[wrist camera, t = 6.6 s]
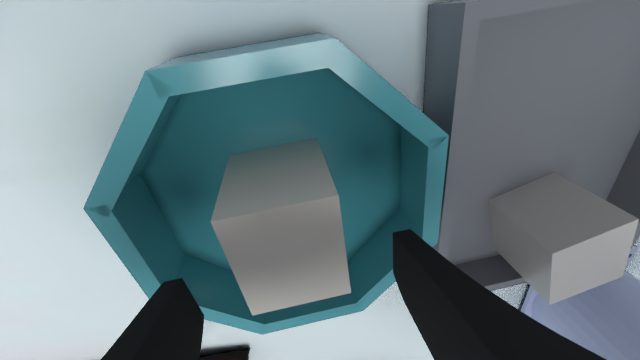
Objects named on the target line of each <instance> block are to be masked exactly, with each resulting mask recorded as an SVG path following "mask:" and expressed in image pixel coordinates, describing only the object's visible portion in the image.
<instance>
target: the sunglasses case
mask: <svg viewBox="0 0 640 360" xmlns="http://www.w3.org/2000/svg"><path fill="white" fill-rule="evenodd" d="M249 350H250V349H246V351H245V352H244V351H242V350H238V351H230V352H227V353H222V354H215V355H210V356H206V357H202V358H199V359H198V360H248V358H249V357H248V354H249Z"/></svg>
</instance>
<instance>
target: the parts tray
mask: <svg viewBox="0 0 640 360" xmlns="http://www.w3.org/2000/svg"><path fill="white" fill-rule="evenodd" d="M423 113H424V114H425V115H426V116H427V117H428V118H429V119H431V120H432V121H433V122H434V123H435V124H436V125H438V126H439V127H440V128H441V129H442V130H443V131H444V132H446V133H447V134H448V135H449V139H448V149H447V159H446V168H445V178H444V187H443V197H442V207H441V216H440V226H439V235H438V242H437V244H436V245H435V246H433V248H434V249H435V250H436V251H437V252H439V253H440V254H441V255H442V256H444V257H445V258H446V259H447V260H449V261H450V262H451V263H453V264H454V265H455V266H457V267H458V268H459V269H460V270H462V271H463V272H464V273H466V274H467V275H468V276H470V277H471V278H472V279H474V280H475V281H477V282H478V283H479V284H481V285H482V286H484V287H485V288H487V289H488V290H489V291H493V290H497V289H501V288H505V287H510V286H514V285H518V284H522V283H526V281H525V280H524V278H523V277H522V276H521V275H520V274H519V273H518V272H517V271H516V270H515V269H514V268H513V267H512V266H511V265H510V264H509V263H508V262H507V261H506V260H505V259H504V258H503V257H502V256H501V255H500V254H499V253H498V252H497V251H496V250H495V249H494V246H493V237H492V228H491V219H490V209H489V200H490V199H492V198H495V197H497V196H500V195H502V194H504V193H507V192H509V191H511V190H514V189H516V188H518V187H521V186H523V185H525V184H528V183H530V182H532V181H535V180H537V179H539V178H542V177H544V176H546V175H549V174H551V173H554V172H555V173H556V174H558V175H560V176H562V177H564V178H566V179H567V180H569V181H571V182H573V183H575V184H576V185H578V186H580V187H582V188H584V189H586V190H587V191H589V192H591V193H593V194H595V195H597V196H598V197H600V198H602V199H604V200H606V201H607V202H609V203H611V204H613V205H615V206H617V207H618V208H620V209H622V210H624V211H626V212H627V213H629V214H631V215H633V216H635V217H637V218H638V219H639V221H638V225H637V228H636V232H635V235H634V239H633V242H632V246H633V245H634V243H635V241H636V240H637V238H638V236H639V235H640V0H455V1H449V2H443V3H438V4H432V5H429V11H428V31H427V50H426V70H425V89H424V109H423ZM632 246H631V248H632ZM630 250H631V249H630Z"/></svg>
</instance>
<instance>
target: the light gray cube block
mask: <svg viewBox="0 0 640 360" xmlns="http://www.w3.org/2000/svg"><path fill="white" fill-rule="evenodd" d="M489 209H490V219H491V228H492V237H493V246H494V249H495V250H496V251H497V252H498V253H499V254H500V255H501V256H502V257H503V258H504V259H505V260H506V261H507V262H508V263H509V264H510V265H511V266H512V267H513V268H514V269H515V270H516V271H517V272H518V273H519V274H520V275H521V276H522V277H523V278H524V280H525V281H526V282H527V283H528V284H529V285H530V286H531V287H532V288H533V289H534V290H535V291H536V292H537V293H538V294H539V295H540V296H541V297H542V298H543V299H544V300H545V301H546V302H547V303H548V304H549V305H551V304H554V303H556V302H559V301H561V300H564V299H566V298H569V297H572V296H574V295H577V294H579V293H582V292H584V291H587V290H590V289H592V288H595V287H597V286H600V285H602V284H605V283H608V282H610V281H613V280H615V279H618V278H620V277H623V274H624V271H625V267H626V264H627V260H628V256H629V253H630V249H631V246H632V242H633V239H634V235H635V232H636V228H637V225H638V221H639V219H638V218H637V217H635V216H633V215H631V214H629V213H627V212H626V211H624V210H622V209H620V208H618V207H617V206H615V205H613V204H611V203H609V202H607V201H606V200H604V199H602V198H600V197H598V196H597V195H595V194H593V193H591V192H589V191H587V190H586V189H584V188H582V187H580V186H578V185H576V184H575V183H573V182H571V181H569V180H567V179H566V178H564V177H562V176H560V175H558V174H556V173H555V172H554V173H551V174H549V175H546V176H544V177H542V178H539V179H537V180H535V181H532V182H530V183H528V184H525V185H523V186H521V187H518V188H516V189H514V190H511V191H509V192H507V193H504V194H502V195H500V196H497V197H495V198H492V199H490V200H489Z"/></svg>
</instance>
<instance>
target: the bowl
mask: <svg viewBox="0 0 640 360" xmlns="http://www.w3.org/2000/svg"><path fill="white" fill-rule="evenodd" d="M316 138H317V141H318V143H319V146H320V149H321V151H322V154H323V156H324V159H325V161H326V164H327V167H328V169H329V172H330V174H331V177H332V180H333V182H334V185H335V187H336V190H337V192H338V195H339V202H340V210H341V218H342V225H343V233H344V241H345V248H346V256H347V264H348V272H349V279H350V287H351V293H349V294H344V295H340V296H335V297H331V298H327V299H322V300H318V301H314V302H309V303H305V304H301V305H296V306H292V307H288V308H283V309H279V310H275V311H270V312H266V313H262V314H257V315H253V316H252V314H251V312H250V309H249V307H248V305H247V303H246V300H245V298H244V296H243V294H242V291H241V289H240V287H239V285H238V282H237V280H236V278H235V276H234V273H233V271H232V269H231V267H230V265H229V262H228V260H227V258H226V256H225V253H224V251H223V249H222V247H221V244H220V242H219V240H218V238H217V235H216V233H215V231H214V229H213V226H212V224H211V219H212V215H213V212H214V208H215V204H216V201H217V197H218V194H219V190H220V187H221V183H222V180H223V176H224V173H225V169H226V166H227V162H228V159H229V155H233V154H238V153H244V152H249V151H254V150H259V149H264V148H269V147H274V146H280V145H285V144H290V143H295V142H300V141H305V140H310V139H316ZM448 139H449V135H448V134H447V133H446V132H444V131H443V130H442V129H441V128H440V127H439V126H438V125H436V124H435V123H434V122H433V121H432V120H431V119H429V118H428V117H427V116H426V115H425V114H424V113H422V112H421V111H420V110H419V109H418V108H417V107H415V106H414V105H413V104H412V103H411V102H410V101H409V100H407V99H406V98H405V97H404V96H403V95H402V94H400V93H399V92H398V91H397V90H396V89H395V88H393V87H392V86H391V85H390V84H389V83H388V82H386V81H385V80H384V79H383V78H382V77H381V76H379V75H378V74H377V73H376V72H375V71H374V70H373V69H371V68H370V67H369V66H368V65H367V64H366V63H364V62H363V61H362V60H361V59H360V58H359V57H357V56H356V55H355V54H354V53H353V52H352V51H350V50H349V49H348V48H347V47H346V46H345V45H344V44H342V43H341V42H340V41H339V40H338V39H337V38H334V37H331V36H328V35H325V34H322V33H316V34H310V35H304V36H298V37H293V38H287V39H281V40H275V41H269V42H264V43H258V44H249V45H245V46H240V47H235V48H229V49H223V50H217V51H211V52H206V53H200V54H194V55H188V56H182V57H177V58H174V59H172V60H169V61H167V62H165V63H163V64H160V65H158V66H156V67H154V68H151V69H149V70H147V71H145V73H144V76H143V78H142V80H141V82H140V85H139V87H138V89H137V91H136V93H135V96H134V98H133V100H132V102H131V104H130V107H129V109H128V111H127V113H126V115H125V118H124V120H123V122H122V124H121V126H120V129H119V131H118V133H117V135H116V137H115V140H114V142H113V144H112V146H111V149H110V151H109V153H108V155H107V157H106V160H105V162H104V164H103V166H102V168H101V171H100V173H99V175H98V177H97V179H96V182H95V184H94V186H93V188H92V190H91V193H90V195H89V197H88V199H87V201H86V204H85V206H84V210H85V212H86V213H87V214H88V216H89V217H90V218H91V220H92V221H93V223H94V224H95V225H96V227H97V228H98V229H99V231H100V232H101V234H102V235H103V236H104V238H105V239H106V240H107V242H108V243H109V245H110V246H111V247H112V249H113V250H114V251H115V253H116V254H117V256H118V257H119V258H120V260H121V261H122V262H123V264H124V265H125V266H126V268H127V269H128V271H129V272H130V273H131V275H132V276H133V277H134V279H135V280H136V282H137V283H138V284H139V286H140V287H141V288H142V290H143V291H144V293H145V294H146V295H147V297H148V298H149V299H150V298H151V297H152V295H153V294H154V293H155V292H156V290H157V289H158V288H159V287H160V286H161V284H162V283H163V282H165V281H170V280H174V279H179V278H183V280H184V282H185V283H186V285H187V287H188V289H189V290H190V292H191V294H192V295H193V297H194V299H195V300H196V302H197V304H198V306H199V307H200V309H201V311H202V312H203V314H204V319H205V320H209V321H213V322H217V323H221V324H224V325H228V326H232V327H236V328H240V329H243V330H247V331H251V332H255V333H258V334H266V333H271V332H275V331H279V330H283V329H288V328H292V327H296V326H300V325H305V324H309V323H313V322H317V321H322V320H326V319H330V318H334V317H339V316H343V315H347V314H351V313H356V312H360V311H363V310H365V309H366V308H367V307H368V306H369V305H370V304H371V303H372V302H373V301H374V300H376V299H377V298H378V297H379V296H380V295H381V294H382V293H383V292H384V291H385V290H386V289H388V288H389V287H390V286H391V285H392V284H393V283H394V282H395V281H396V279H395V277H394V274H393V232H398V231H402V230H407V229H411V230H412V231H413V232H415V233H416V234H417V235H418V236H419V237H421V238H422V239H423V240H424V241H425V242H427V243H428V244H429V245H430V246H431V247H433V246H435V245H436V244H437V242H438V235H439V226H440V216H441V207H442V197H443V187H444V178H445V168H446V159H447V149H448Z"/></svg>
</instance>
